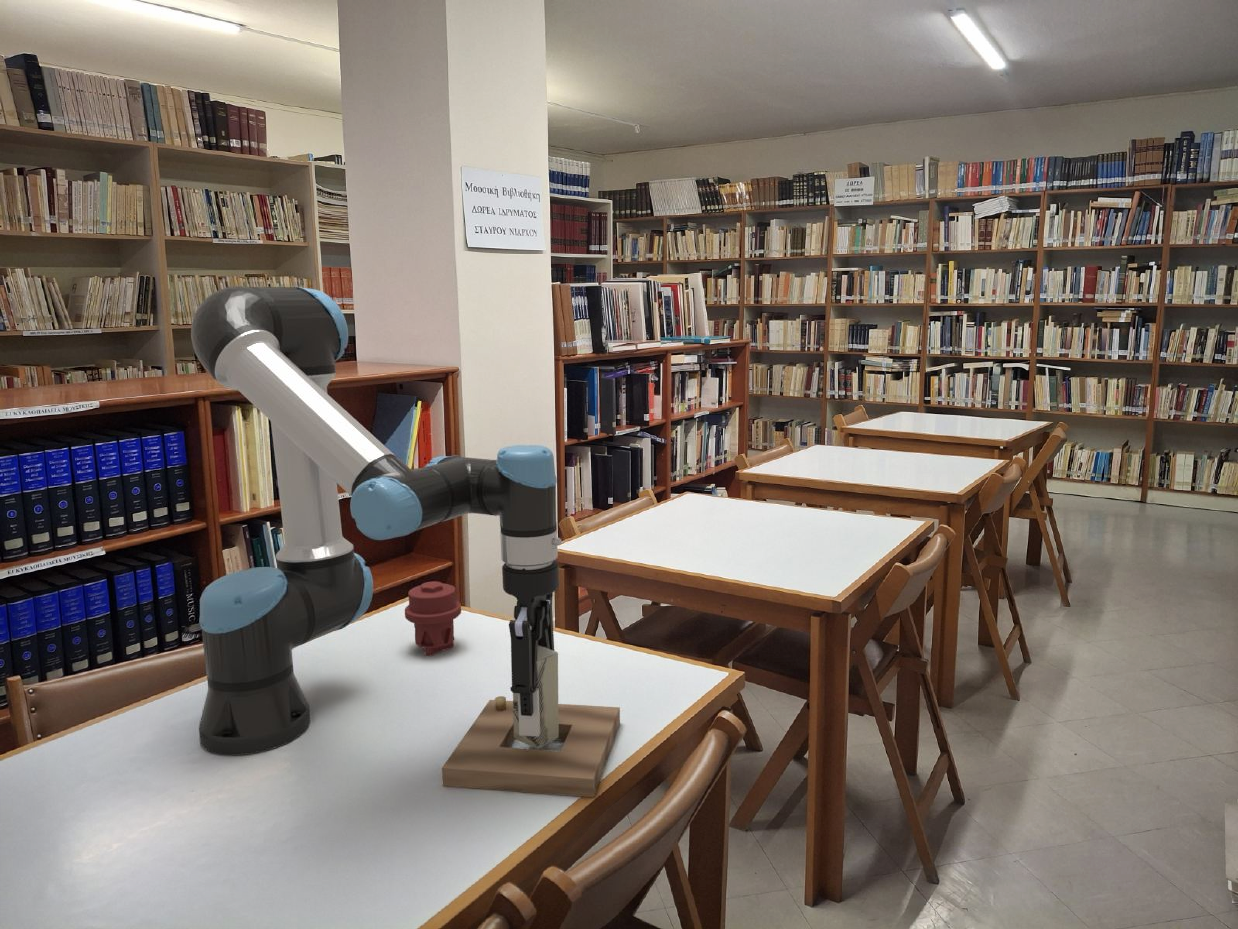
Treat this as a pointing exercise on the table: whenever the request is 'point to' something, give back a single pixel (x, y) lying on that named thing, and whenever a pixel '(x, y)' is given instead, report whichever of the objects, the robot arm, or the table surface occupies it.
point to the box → (543, 700)
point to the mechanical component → (433, 615)
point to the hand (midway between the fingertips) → (536, 722)
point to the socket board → (534, 752)
